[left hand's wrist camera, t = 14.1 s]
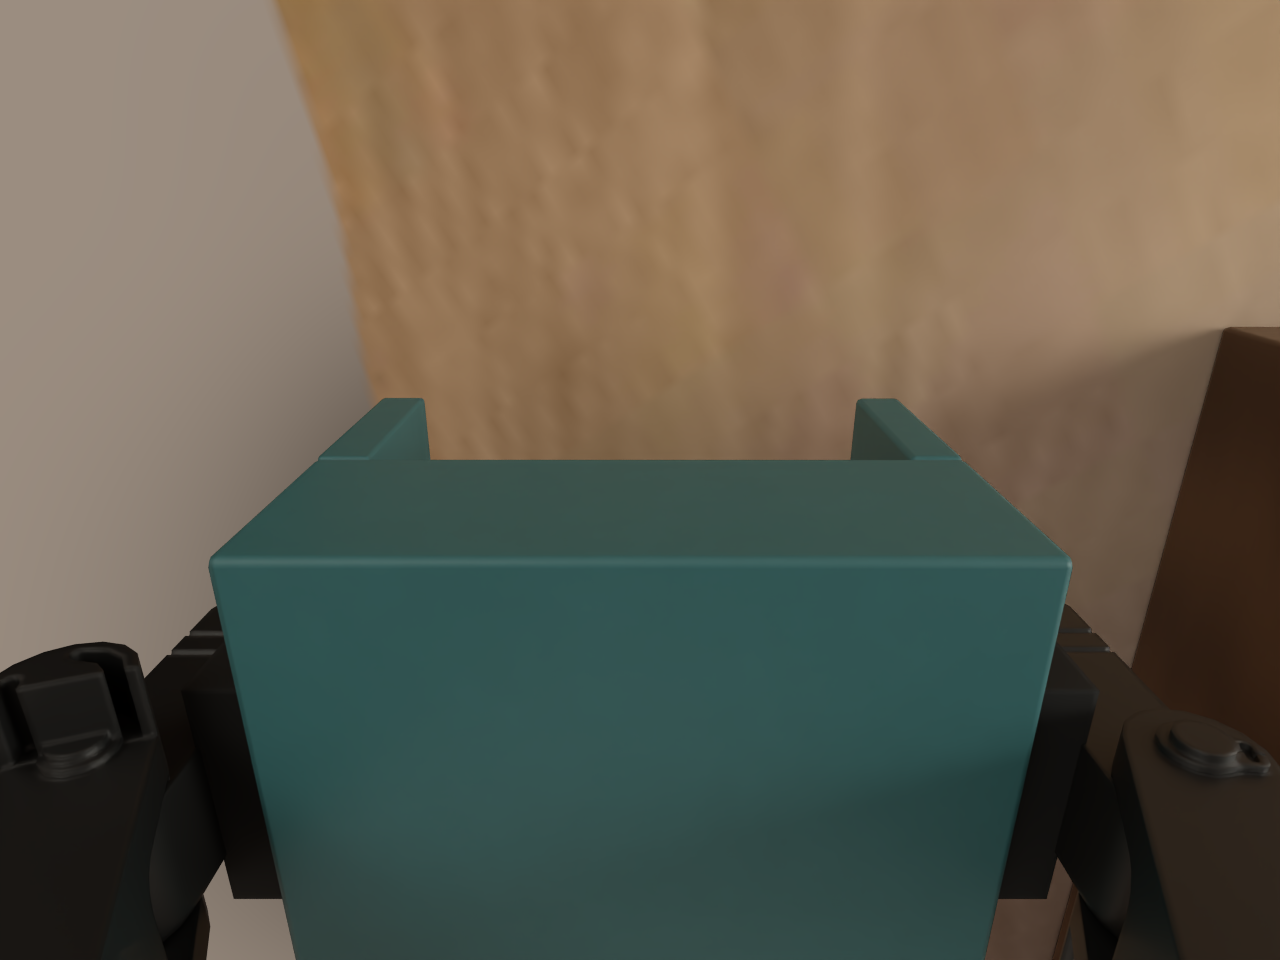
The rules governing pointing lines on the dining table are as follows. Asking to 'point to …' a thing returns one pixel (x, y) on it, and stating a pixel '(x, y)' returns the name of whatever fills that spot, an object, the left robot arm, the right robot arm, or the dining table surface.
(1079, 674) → the left robot arm
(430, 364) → the dining table surface
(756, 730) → the teal u-shaped block
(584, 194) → the dining table surface
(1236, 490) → the bar
